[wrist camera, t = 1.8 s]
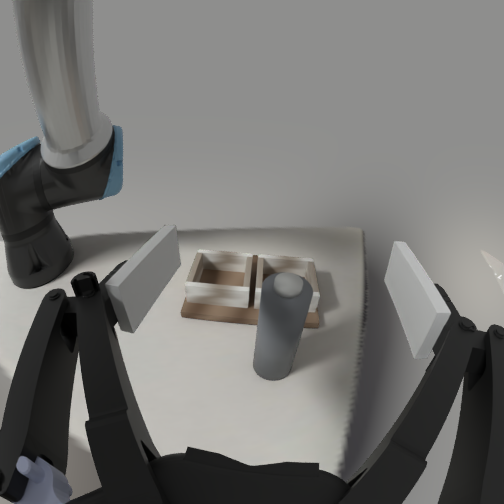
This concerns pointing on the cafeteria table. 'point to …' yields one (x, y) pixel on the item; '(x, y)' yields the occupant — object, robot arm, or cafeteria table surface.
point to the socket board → (240, 285)
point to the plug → (280, 323)
